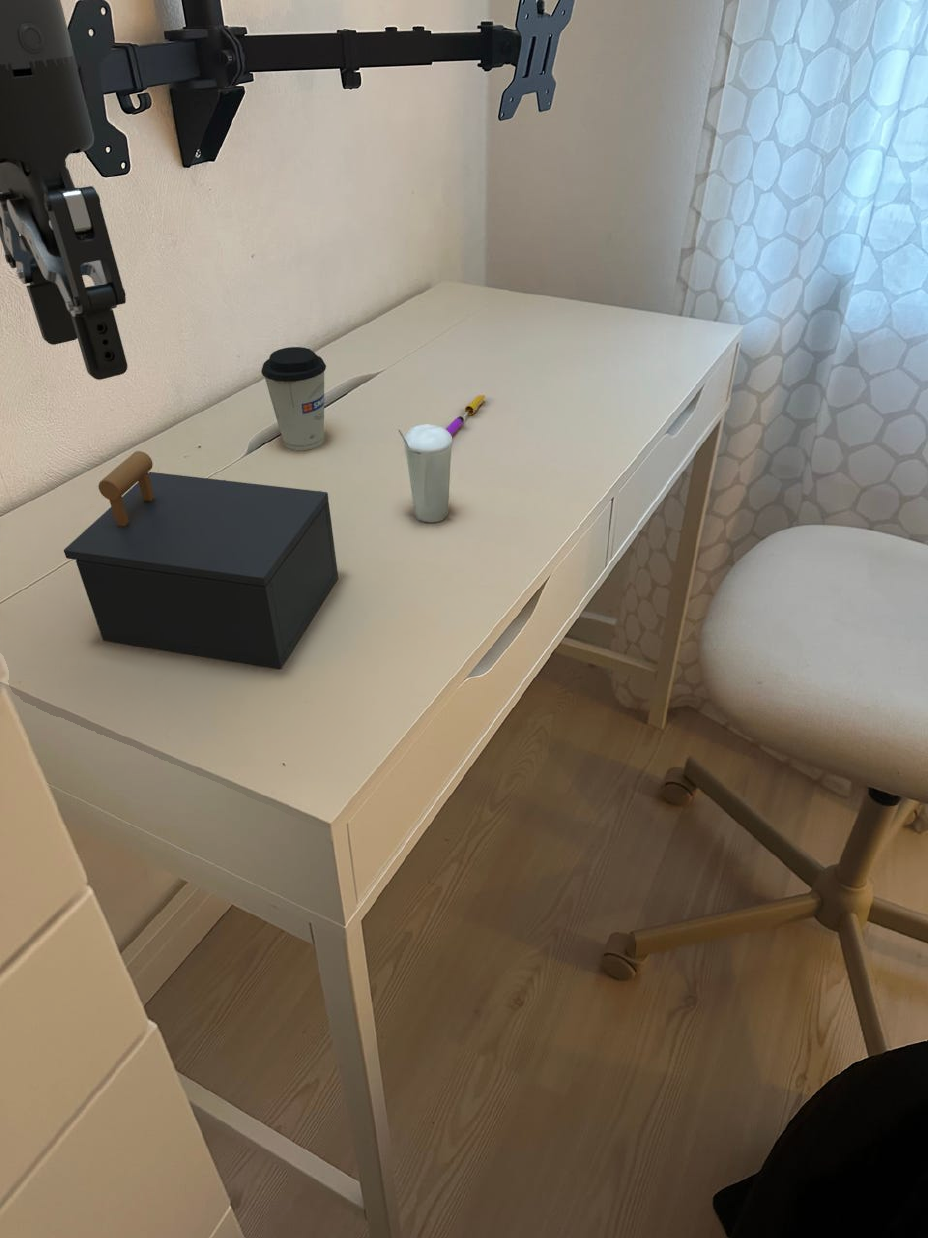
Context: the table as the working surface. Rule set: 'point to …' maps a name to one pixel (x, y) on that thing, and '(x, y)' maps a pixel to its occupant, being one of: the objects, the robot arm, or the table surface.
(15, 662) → the table surface
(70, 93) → the robot arm
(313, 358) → the coffee cup
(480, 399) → the purple yellow rod
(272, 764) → the table surface
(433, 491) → the milkshake
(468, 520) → the table surface
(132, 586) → the black open box
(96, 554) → the lid
